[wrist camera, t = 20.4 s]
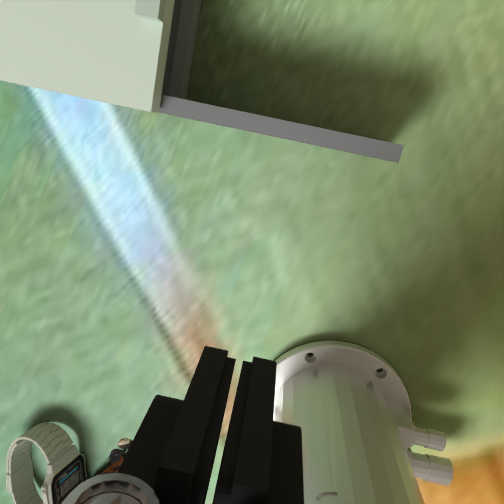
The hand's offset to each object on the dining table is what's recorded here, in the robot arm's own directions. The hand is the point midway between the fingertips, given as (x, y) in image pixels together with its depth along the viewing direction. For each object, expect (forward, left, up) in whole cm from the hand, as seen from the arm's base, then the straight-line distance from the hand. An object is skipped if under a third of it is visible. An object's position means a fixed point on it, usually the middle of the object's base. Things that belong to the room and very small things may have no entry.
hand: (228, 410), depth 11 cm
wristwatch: (+14, +26, -26) cm, 39 cm away
